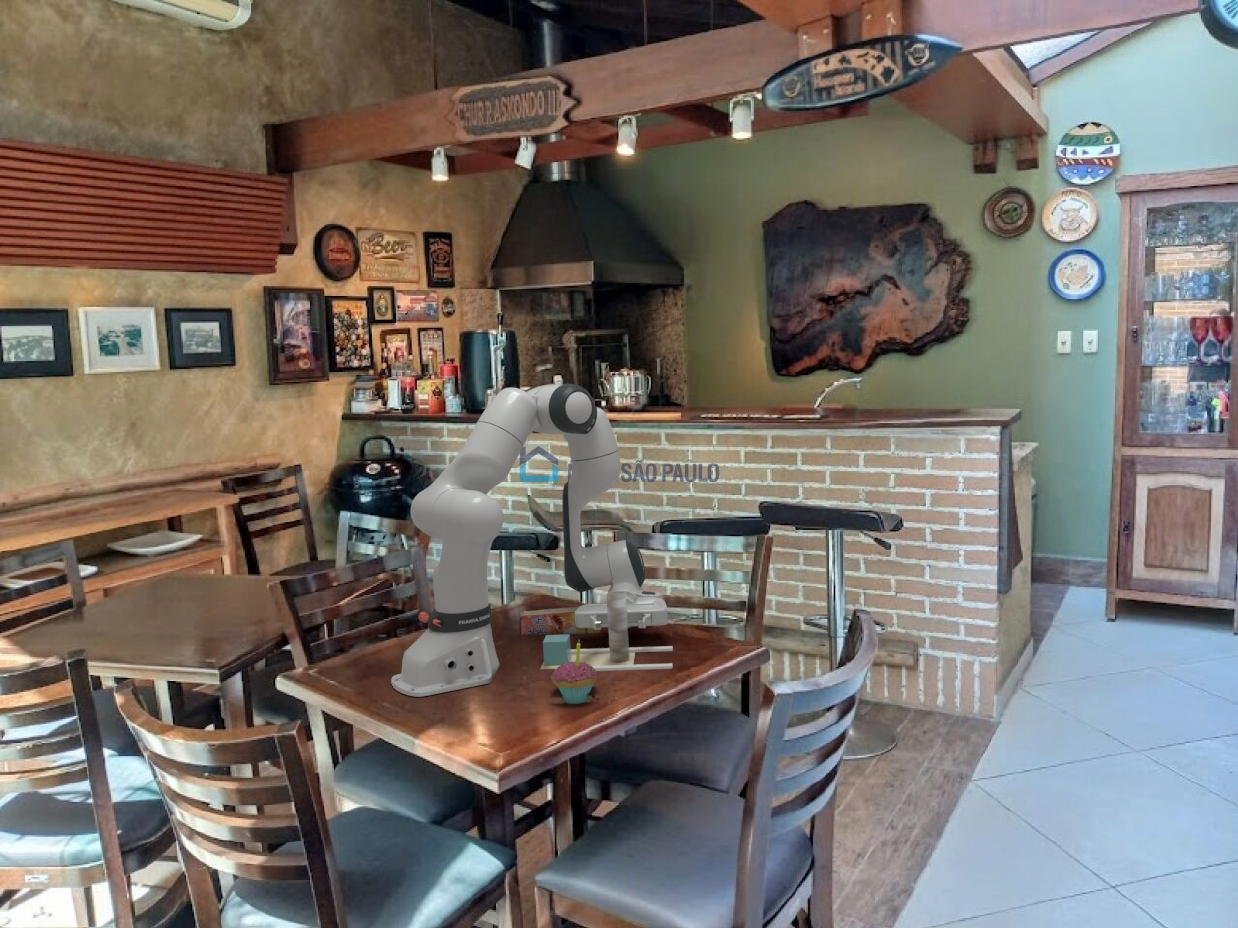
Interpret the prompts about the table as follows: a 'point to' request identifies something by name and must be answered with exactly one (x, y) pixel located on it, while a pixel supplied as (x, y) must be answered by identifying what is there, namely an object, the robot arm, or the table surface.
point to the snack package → (552, 622)
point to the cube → (556, 649)
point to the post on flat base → (611, 636)
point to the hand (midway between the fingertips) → (619, 625)
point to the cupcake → (574, 679)
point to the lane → (629, 667)
